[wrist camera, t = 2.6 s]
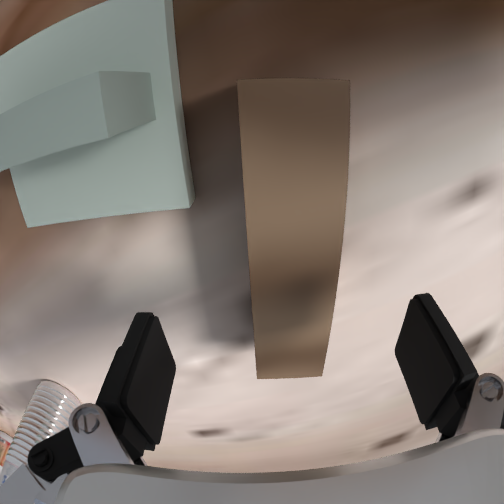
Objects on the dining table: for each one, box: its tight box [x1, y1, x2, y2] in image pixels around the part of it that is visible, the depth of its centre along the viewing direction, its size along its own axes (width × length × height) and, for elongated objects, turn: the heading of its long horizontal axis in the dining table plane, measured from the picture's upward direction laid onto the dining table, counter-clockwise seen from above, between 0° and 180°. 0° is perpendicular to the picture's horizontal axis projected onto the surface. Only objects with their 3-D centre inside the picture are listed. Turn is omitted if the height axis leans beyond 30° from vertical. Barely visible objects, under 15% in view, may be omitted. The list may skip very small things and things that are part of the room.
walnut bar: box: [237, 78, 350, 379], centre depth 15 cm, size 16×4×5 cm, turn 3°
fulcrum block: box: [0, 0, 196, 228], centre depth 11 cm, size 12×12×6 cm
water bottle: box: [0, 380, 81, 486], centre depth 20 cm, size 7×7×25 cm
